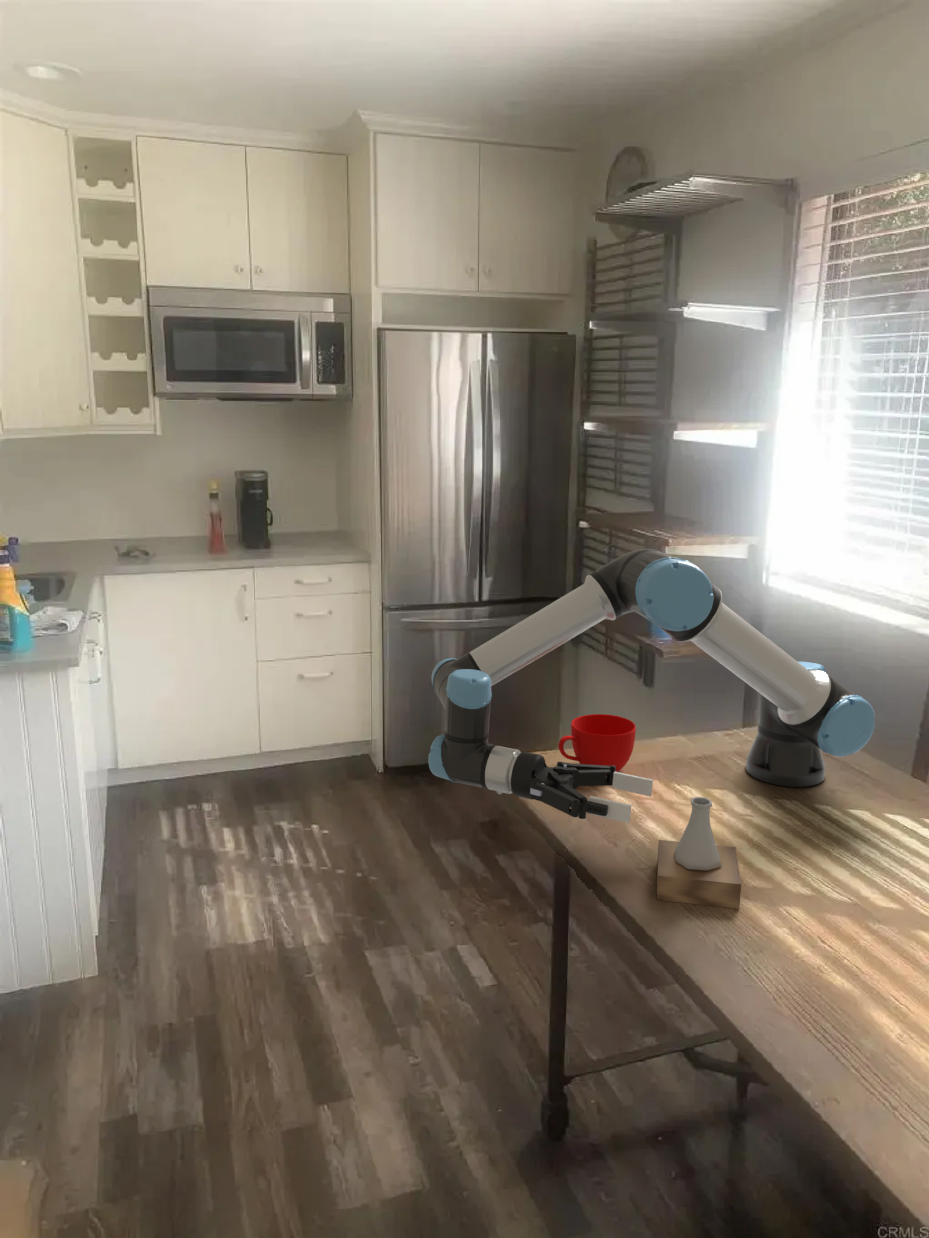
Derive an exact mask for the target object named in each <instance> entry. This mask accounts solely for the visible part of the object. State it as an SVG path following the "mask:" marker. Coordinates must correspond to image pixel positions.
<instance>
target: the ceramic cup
mask: <svg viewBox="0 0 929 1238" xmlns="http://www.w3.org/2000/svg"><path fill="white" fill-rule="evenodd" d="M570 724H571V725H570V729H571V731H570V733H571V735H565V736H564V735H563V736H562V737H561V738H560V740H559V742H558V751H559V753H560V754H561V755H562V756H563V758H565V759H568V760H570V761H574V762H575V761H576V762H579V763H578V764H588V765H604V766H611V765H614V766H616V771H615V772H620V771H621V770H622V769H623V768H624V767H625V766H626V765H627V763H628V762H629V760H630V758H631V756H632V753H633V750H634V746H635V741H636V740H635V739H636V730H637V729H636V728H637V727H636V723H634V721H632V720H630V719H628V718H626V717H623V716H619V715H613V714H604V713H603V714H602V713H599V714H597V713H594V714H592V713H591V714H585V715H581V716H578V717H575V718H574V719H573V720H571V723H570ZM569 740H570V741H571V744H572V748H573V753H574V755H575V756H573V755H569V754H567V753H566V752H565V749H564V746H565V745H564V744H565V742H567V741H569ZM606 776H607V775H606Z"/></svg>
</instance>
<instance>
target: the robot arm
mask: <svg viewBox="0 0 929 1238" xmlns="http://www.w3.org/2000/svg"><path fill="white" fill-rule="evenodd" d="M628 613H637V614H638V615H640V616H642V617H643V618H644V619H646V620H648V621H649V622H650V623H651V624H653V625H655V626H656V628H658V629H660V630H661V631H662V632H664V633H665V634H666V635H668V636H669V637H670V638H672V639H673V640H674V641H676V642H678V643H687V642H691V643H693V644H694V645H695V646H697V648H699V649H700V650H702V651H703V652H705V653H706V654H707V655H708V656H710V658H713V659H714V660H716V661H717V662H718V663H719V664H721V666H723V667H724V668H726V669H727V670H729V671H730V673H733V675H735V676H736V677H737V678H739V679H740V680H742V682H745V683H746V684H747V685H748V686H750V687H751V688H752V689H754V691H756V692H757V693H759V694H760V695H759V709H758V710H759V711H758V724H757V725H758V726H757V734H756V736H755V738H754V740H753V743H752V744H751V747H750V750H749V751H748V754H747V757H746V762H745V764H746V765H745V770H746V772H747V773H748V774H749V775H750V776H752V777H753V778H754V779H757V780H760V781H761V782H765V783H768V784H772V785H776V786H782V787H788V788H790V787H791V788H805V787H812V786H816V785H819V784H821V783H822V782H824V780H825V774H826V765H825V761H824V758H823V753H825V754H829V755H831V756H834V757H838V758H841V757H842V758H843V757H848V756H849V755H850V756H851V755H855V754H856V753H858V752H859V751H860V750H861V749H863V748H864V747H865V746H866V745H867V743H868V742H869V741H870V739H871V738H872V735H873V734H874V732H875V731H874V730H875V726H876V723H875V722H876V721H875V720H876V713H875V710H874V708H873V706H872V705H871V703H869V701H868V700H866V699H865V698H864V697H863V696H861V695H858V694H855V693H853V692H851V691H850V690H848V689H847V688H845V687H844V686H843V685H841V684H840V683H839V682H838V681H836V680H835V679H834V678H832V676H830V675H829V674H828V673H827V672H826V668H825V666H824V665H822V664H820V663H815V662H809V661H808V662H807V661H797V660H796V659H795V658H793V657H792V656H791V655H789V654H788V653H787V652H786V651H784V650H783V649H782V648H781V647H779V646H778V645H777V644H776V643H774V642H773V641H772V640H771V639H769V638H768V637H766V636H765V635H764V634H763V633H762V632H761V631H759V630H758V629H756V627H754V626H753V625H751V624H750V623H749V622H747V621H746V620H745V619H744V618H743V617H741V616H740V615H739V614H737V613H736V612H735V611H733V610H732V609H731V608H730V607H728V606H727V605H726V604H724V603H723V594H722V590H720V589H719V587H717V586H716V585H715V584H713V582H711V580H710V579H709V577H708V575H707V574H706V573H705V572H704V571H703V570H702V569H701V568H700V567H698V565H696V564H695V563H692V562H691V561H689V560H687V559H684V558H680V557H675V556H673V555H670V554H667V553H666V552H665V553H664V552H662V551H660V550H657V549H655V548H653V549H652V548H641V549H635V550H632V551H629V552H627V553H625V554H623V555H621V556H619V557H617V558H615V559H613V560H611V561H610V562H608V563H606V564H603V566H601V567H599V568H597V569H596V570H594V571H593V572H591V573H589V574H588V575H586V577H585V580H584V583H583V584H581V585H580V586H578V587H577V588H575V589H573V590H571V591H570V592H568V593H566V594H565V595H563V596H560V598H558V599H556V600H555V601H553V602H552V603H550V604H548V605H546V606H544V607H543V608H541V609H540V610H538V611H536V612H535V613H533V614H531V615H530V616H528V617H526V618H524V619H523V620H521V621H519V622H518V623H516V624H514V625H513V626H511V627H510V628H508V629H506V630H504V631H503V632H500V633H499V634H497V635H495V636H494V637H493V638H491V639H490V640H488V641H486V642H485V643H483V644H481V645H480V646H477V647H476V648H474V649H473V650H471V651H469V652H467V653H465V654H463V655H462V656H460V657H457V658H456V657H455V658H453V657H450V658H444V659H442V660H440V661H439V662H437V664H436V665H435V666H434V668H433V669H432V673H431V679H430V680H431V684H432V688H433V692H434V694H435V696H436V697H437V698H438V700H439V701H440V703H441V705H442V707H443V708H444V710H445V723H444V727H445V728H444V733H443V734H440V735H438V736H436V737H435V739H434V740H433V742H432V743H431V745H430V751H429V754H428V767H429V771H430V772H431V773H432V775H434V776H435V777H438V778H441V779H443V780H448V781H450V782H452V783H459V784H464V785H468V786H473V787H477V788H483V789H485V790H491V791H495V792H496V793H497V794H498V795H502V794H503V793H504V794H508V795H511V794H513V795H514V796H515V797H518V798H519V797H520V798H523V799H528V800H535V801H538V802H542V803H543V804H546V805H548V806H549V807H552V808H554V809H556V810H558V811H560V812H563V813H564V814H566V815H569V816H570V817H572V818H578V819H580V820H586V819H587V818H586V817H587V814H588V815H591V816H595V817H599V818H600V817H601V818H605V819H608V820H612V821H617V822H622V823H627V824H629V823H630V822H631V814H632V804H629V803H624V802H622V801H621V802H620V801H615V800H611V799H607V798H602V797H598V796H593V795H590V796H589V797H586V796H585V795H584V794H582V793H581V792H580V791H577V788H578V787H597V786H599V787H604V786H605V787H607V786H608V787H609V786H612V787H611V788H612V789H615V790H619V791H624V792H629V793H634V794H638V795H642V796H646V797H651V796H652V793H653V783H654V779H653V778H648V777H642V776H640V775H639V776H637V775H633V774H630V773H629V774H628V773H623V772H620V771H619V772H615V771H616V766H614V765H611V766H604V765H588V764H580V763H569V762H563V761H557V762H556V766H553V767H551V766H548V765H547V763H546V759H545V757H544V756H543V755H542V754H538V753H533V752H529V751H522V752H521V751H520V749H517V748H510V747H505V746H500V745H495V744H493V743H489V732H490V731H489V729H490V715H491V702H492V698H493V692H492V686H494V685H496V684H497V683H499V682H501V681H502V680H504V679H506V678H508V677H509V676H511V675H513V674H514V673H516V672H518V671H520V670H521V669H523V668H524V667H526V666H528V665H529V664H531V663H533V662H534V661H535V662H536V660H538V659H540V658H542V657H543V656H545V655H546V654H549V653H550V652H552V651H553V650H555V649H557V648H559V647H560V646H562V645H564V644H565V643H567V642H568V641H571V640H572V639H574V638H575V637H577V636H579V635H580V634H582V633H584V632H585V631H587V630H588V629H590V628H592V627H593V626H595V625H597V624H599V623H600V622H603V621H604V620H610V621H615V620H616V619H618V618H620V617H621V616H623V615H626V614H628ZM822 752H823V753H822ZM606 775H607V776H606Z"/></svg>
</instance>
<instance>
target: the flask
mask: <svg viewBox="0 0 929 1238" xmlns="http://www.w3.org/2000/svg"><path fill="white" fill-rule="evenodd" d="M690 804H691V813H690V817H689V820H688V823H687V825H686V826H685V829H684V831H683V834H682V836H681V838H680V840H679V841H678V842H679V843H678V845H677V847H676V850H675V852H674V855H675V861H676V862H678V863H679V864H681V865H682V866H684V867H685V868H687V869H693V870H706V871H708V870H711V869H714V868H718V867H721V861H720V857H719V853H718V850H717V847H716V845H717V844H716V840H715V837H714V833H713V830H712V826H711V819H710V809H711V808H712V806H713V803H712V800H711V799H710V798H708V797H706V796H695V797H691V798H690Z"/></svg>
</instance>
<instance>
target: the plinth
mask: <svg viewBox="0 0 929 1238" xmlns="http://www.w3.org/2000/svg"><path fill="white" fill-rule="evenodd" d="M679 842H680V841H675V840H667V839H666V840H665V839H658V842H657V843H658V846H657V861H656V863H657V864H656V865H657V866H656V868H657V871H656V875H657V876H656V878H657V879H656V883H657V884H656V901H666V902H675V903H682V904H692V905H693V904H694V905H702V906H710V907H717V908H720V907H721V908H730V909H737V910H739V909H740V906H741V894H742V893H741V892H742V880H741V875H740V867H739V862H738V861H739V860H738V856H737V849H736V846H730V845H729V846H726V845H717V844H716V847H717V850H718V853H719V857H720V861H721V867H718V868H714V869H711V870H708V871H706V870H693V869H687V868H685V867H684V866H682V865H681V864H679V863H678V862H676V861H675V855H674V852H675V850H676V847H677V845H678V843H679Z"/></svg>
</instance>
